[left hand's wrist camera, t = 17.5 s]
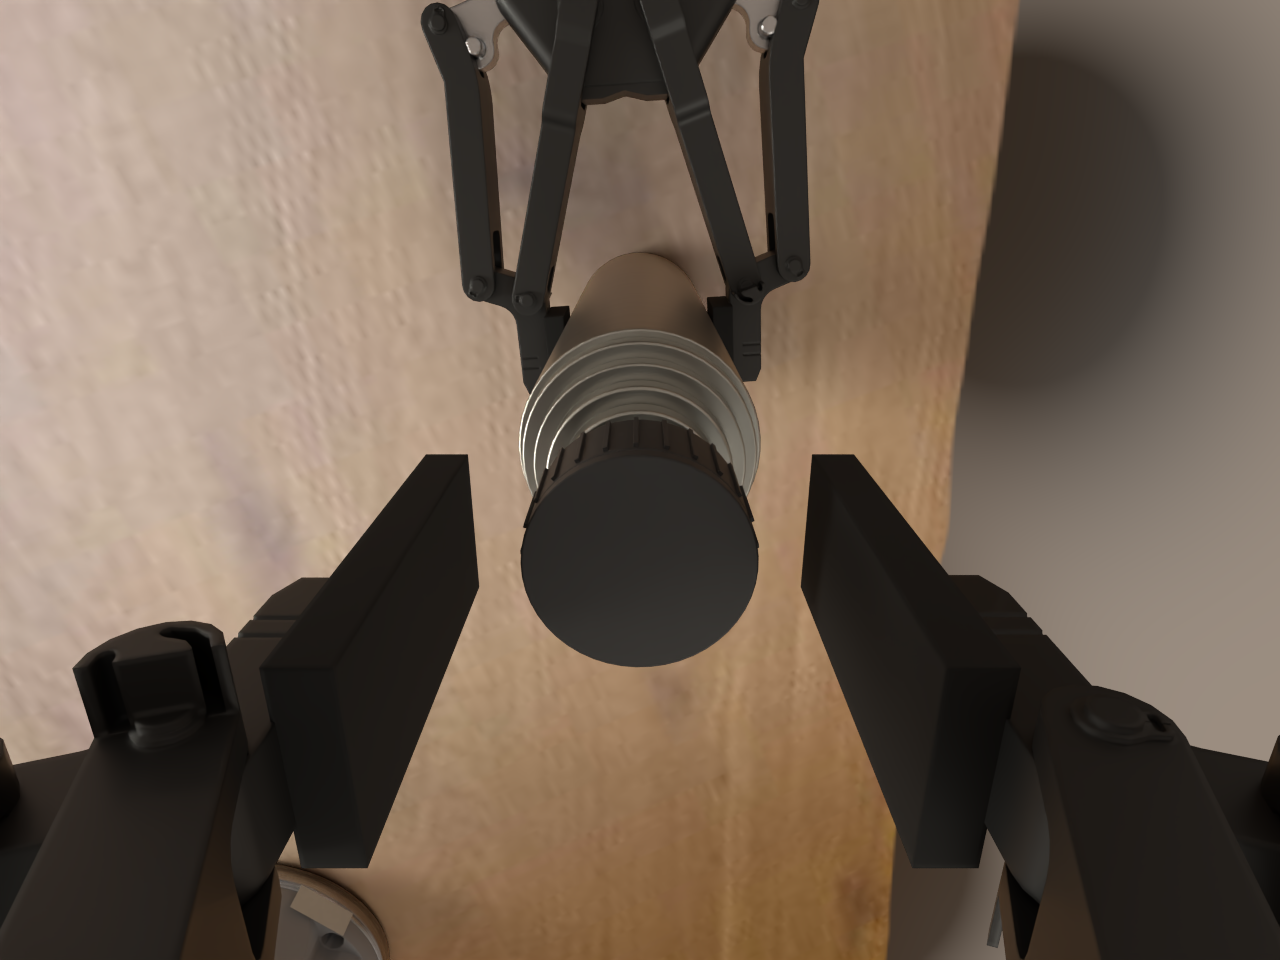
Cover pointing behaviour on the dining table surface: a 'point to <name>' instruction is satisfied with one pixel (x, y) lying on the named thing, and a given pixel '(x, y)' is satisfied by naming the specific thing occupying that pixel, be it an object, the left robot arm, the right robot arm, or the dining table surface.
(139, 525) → the dining table surface
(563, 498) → the cap
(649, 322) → the bottle
